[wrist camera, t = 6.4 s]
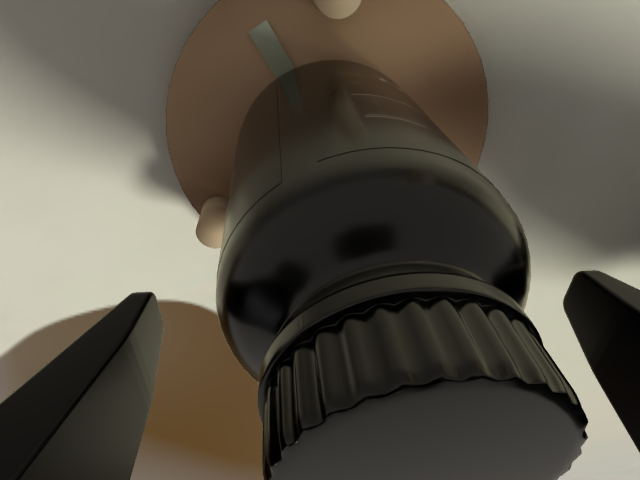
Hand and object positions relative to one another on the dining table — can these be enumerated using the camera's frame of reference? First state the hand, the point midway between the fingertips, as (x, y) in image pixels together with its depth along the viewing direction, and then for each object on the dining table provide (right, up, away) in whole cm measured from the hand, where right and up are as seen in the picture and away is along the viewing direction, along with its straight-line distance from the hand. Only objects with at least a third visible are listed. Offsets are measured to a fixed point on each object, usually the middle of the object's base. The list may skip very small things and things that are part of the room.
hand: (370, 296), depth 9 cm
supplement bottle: (-1, +5, +7) cm, 9 cm away
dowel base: (-1, +5, +8) cm, 9 cm away
